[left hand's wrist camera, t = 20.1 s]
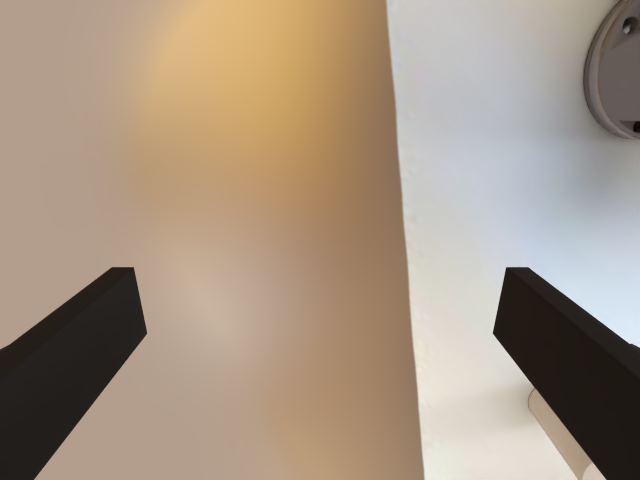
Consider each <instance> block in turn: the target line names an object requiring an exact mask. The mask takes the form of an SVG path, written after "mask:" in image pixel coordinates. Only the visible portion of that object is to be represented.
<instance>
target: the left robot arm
mask: <svg viewBox="0 0 640 480" xmlns="http://www.w3.org/2000/svg"><path fill="white" fill-rule="evenodd" d="M584 87H585V95H586V100H587V103H588V106H589V108H590V110H591V112H592V114H593V116H594V117H595V119H596V120H597V121H598V122H599V123H600V124H601V125H602V126H603V127H604V128H605V129H607V130H608V131H610V132H611V133H613V134H615V135H618V136H620V137H624V138H629V139H637V140H640V0H621V1H620V2H619V3H618V4H617V5H616V6H615V7H614V8H613V10H612V11H611V12H610V13H609V15H608V16H607V17H606V19H605V20H604V22H603V23H602V25H601V27H600V28H599V30H598V32H597V34H596V36H595V38H594V40H593V42H592V45H591V48H590V50H589V54H588V57H587V61H586V66H585V75H584ZM146 334H147V330H146V325H145V321H144V315H143V310H142V306H141V301H140V296H139V291H138V286H137V281H136V276H135V271H134V267H112V268H110V269H109V270H108V271H106V272H105V273H104V274H102V275H101V276H100V277H99V278H97V279H96V280H95V281H93V282H92V283H91V284H89V285H88V286H87V287H85V288H84V289H83V290H81V291H80V292H79V293H77V294H76V295H75V296H73V297H72V298H71V299H69V300H68V301H67V302H65V303H64V304H63V305H62V306H60V307H59V308H57V309H56V310H55V311H53V312H52V313H51V314H50V315H48V316H47V317H46V318H44V319H43V320H42V321H40V322H39V323H38V324H36V325H35V326H34V327H32V328H31V329H30V330H28V331H27V332H26V333H24V334H23V335H22V336H20V337H19V338H18V339H16V340H15V341H14V342H13V343H11V344H10V345H8V346H6V347H4V348H2V349H0V480H34V479H35V478H36V476H37V475H38V474H39V472H40V471H41V470H42V469H43V467H44V466H45V465H46V463H47V462H48V461H49V459H50V458H51V457H52V456H53V454H54V453H55V452H56V451H57V449H58V448H59V447H60V445H61V444H62V443H63V441H64V440H65V439H66V438H67V436H68V435H69V434H70V432H71V431H72V430H73V429H74V427H75V426H76V425H77V423H78V422H79V421H80V420H81V418H82V417H83V416H84V414H85V413H86V412H87V410H88V409H89V408H90V407H91V405H92V404H93V403H94V401H95V400H96V399H97V398H98V396H99V395H100V394H101V392H102V391H103V390H104V388H105V387H106V386H107V385H108V383H109V382H110V381H111V379H112V378H113V377H114V376H115V374H116V373H117V372H118V370H119V369H120V368H121V367H122V365H123V364H124V363H125V361H126V360H127V359H128V358H129V356H130V355H131V354H132V352H133V351H134V350H135V349H136V347H137V346H138V345H139V343H140V342H141V341H142V339H143V338H144V337H145V336H146ZM493 334H494V336H495V337H496V338H497V339H498V341H499V342H500V343H501V345H502V346H503V347H504V349H505V350H506V351H507V352H508V354H509V355H510V356H511V358H512V359H513V360H514V361H515V363H516V364H517V365H518V367H519V368H520V369H521V370H522V372H523V373H524V374H525V376H526V377H527V378H528V380H529V381H530V382H531V383H532V385H533V386H534V387H535V389H536V390H537V391H538V392H539V394H540V395H541V396H542V398H543V399H544V400H545V401H546V403H547V404H548V405H549V407H550V408H551V409H552V411H553V412H554V413H555V414H556V416H557V417H558V418H559V420H560V421H561V422H562V423H563V425H564V426H565V427H566V429H567V430H568V431H569V432H570V434H571V435H572V436H573V438H574V439H575V440H576V441H577V443H578V444H579V445H580V447H581V448H582V449H583V451H584V452H585V453H586V454H587V456H588V457H589V458H590V460H591V461H592V462H593V463H594V465H595V466H596V467H597V469H598V470H599V471H600V472H601V474H602V475H603V476H604V478H605V479H606V480H640V348H639V347H637V346H635V345H633V344H629V343H628V342H626V341H625V340H624V339H622V338H621V337H620V336H618V335H617V334H616V333H614V332H613V331H612V330H610V329H609V328H608V327H606V326H605V325H604V324H602V323H601V322H600V321H598V320H597V319H596V318H594V317H593V316H592V315H590V314H589V313H588V312H587V311H585V310H584V309H583V308H581V307H580V306H579V305H577V304H576V303H575V302H573V301H572V300H571V299H569V298H568V297H567V296H565V295H564V294H563V293H561V292H560V291H559V290H557V289H556V288H555V287H553V286H552V285H551V284H549V283H548V282H547V281H545V280H544V279H543V278H541V277H540V276H539V275H538V274H536V273H535V272H534V271H532V270H531V269H530V268H528V267H506V271H505V276H504V281H503V286H502V291H501V296H500V301H499V306H498V310H497V315H496V320H495V325H494V330H493Z"/></svg>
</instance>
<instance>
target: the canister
mask: <svg viewBox="0 0 640 480" xmlns="http://www.w3.org/2000/svg"><path fill="white" fill-rule="evenodd" d="M528 405H529V409H530V411H531V413H532V414H533V415H534V417H535V418H536V420H537V421H538V423H539V424H540V425H541V427H542V428H543V430H544V431H545V433H546V434H547V436H548V437H549V438H550V440H551V441H552V443H553V444H554V446H555V447H556V448H557V450H558V451H559V453H560V454H561V456H562V457H563V459H564V460H565V461H566V463H567V464H568V466H569V467H570V469H571V470H572V471H573V473H574V474H575V476H576V477H577V479H578V480H606V479H605V478H604V476H603V475H602V474H601V472H600V471H599V470H598V469H597V467H596V466H595V465H594V463H593V462H592V461H591V460H590V458H589V457H588V456H587V454H586V453H585V452H584V451H583V449H582V448H581V447H580V445H579V444H578V443H577V441H576V440H575V439H574V438H573V436H572V435H571V434H570V432H569V431H568V430H567V429H566V427H565V426H564V425H563V423H562V422H561V421H560V420H559V418H558V417H557V416H556V414H555V413H554V412H553V411H552V409H551V408H550V407H549V405H548V404H547V403H546V401H545V400H544V399H543V398H542V396H541V395H540V394H539V392H538V391H537V390H536V389H534V390H533V392H532V393H531V395H530V397H529V401H528Z"/></svg>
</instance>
